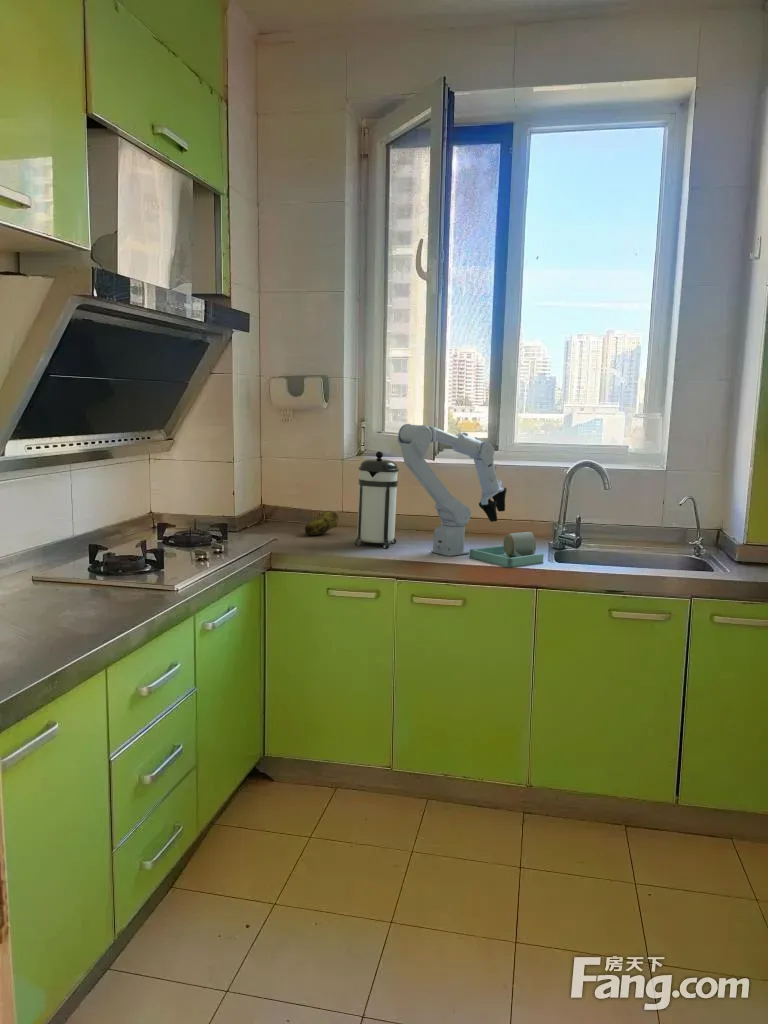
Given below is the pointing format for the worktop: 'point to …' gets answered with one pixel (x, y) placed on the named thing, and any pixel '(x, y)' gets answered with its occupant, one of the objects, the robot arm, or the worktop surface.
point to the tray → (503, 557)
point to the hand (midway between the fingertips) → (497, 516)
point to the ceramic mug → (519, 544)
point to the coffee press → (377, 501)
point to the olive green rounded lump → (322, 523)
